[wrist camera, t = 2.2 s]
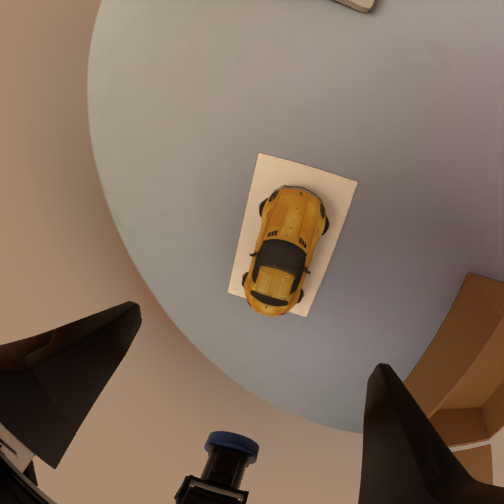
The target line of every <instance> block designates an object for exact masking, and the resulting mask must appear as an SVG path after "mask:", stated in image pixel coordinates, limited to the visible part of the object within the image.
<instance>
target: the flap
mask: <svg viewBox="0 0 504 504" xmlns="http://www.w3.org/2000/svg"><path fill="white" fill-rule="evenodd" d="M452 453H453V454H454V455H455V457H456V458H457V459H458V460H459V462H460V463H461V464H462V465H463V466H464V468H465V469H466V470H467V471H468V473H469V474H470V475H471V476H472V477H473V478H474V479H476V480H477V481H479V482H482V483H486V484H490V485H493V476H492V475H493V474H492V454H491V445H490V444H489V445H485V446H481V447H476V448H472V449H467V450H462V451H456V452H452Z"/></svg>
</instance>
